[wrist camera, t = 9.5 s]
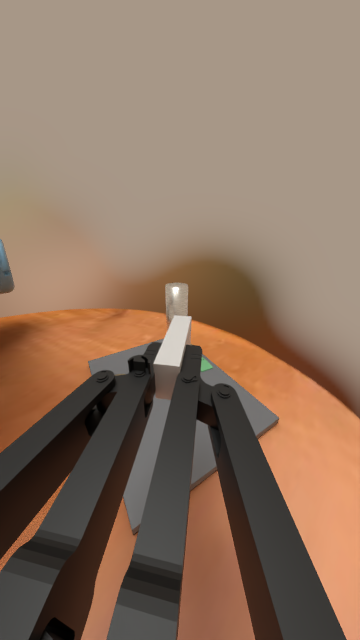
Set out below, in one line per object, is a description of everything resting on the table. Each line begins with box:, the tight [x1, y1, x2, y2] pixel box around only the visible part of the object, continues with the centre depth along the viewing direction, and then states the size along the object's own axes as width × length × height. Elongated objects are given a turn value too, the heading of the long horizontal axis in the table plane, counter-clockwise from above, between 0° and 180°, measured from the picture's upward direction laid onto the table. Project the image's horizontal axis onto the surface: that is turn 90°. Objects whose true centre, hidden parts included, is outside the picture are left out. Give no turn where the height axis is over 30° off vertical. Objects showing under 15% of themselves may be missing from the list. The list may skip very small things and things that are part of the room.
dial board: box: [88, 339, 279, 535], centre depth 31 cm, size 26×20×1 cm
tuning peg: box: [115, 283, 192, 376], centre depth 30 cm, size 18×5×14 cm, turn 134°
